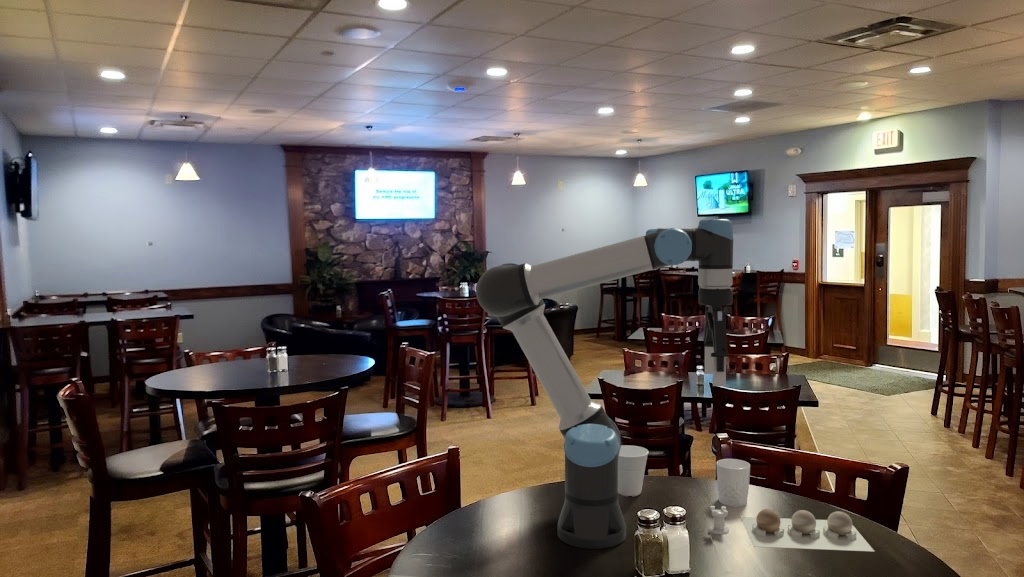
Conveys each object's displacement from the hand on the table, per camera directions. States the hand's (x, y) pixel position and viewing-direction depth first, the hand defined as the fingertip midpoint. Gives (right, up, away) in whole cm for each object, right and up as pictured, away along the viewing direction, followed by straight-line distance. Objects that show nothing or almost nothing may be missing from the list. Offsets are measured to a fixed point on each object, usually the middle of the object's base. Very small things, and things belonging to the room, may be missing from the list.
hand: (714, 379), depth 167 cm
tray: (+17, -33, -8) cm, 38 cm away
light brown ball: (+10, -33, -7) cm, 35 cm away
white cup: (+8, -32, +12) cm, 35 cm away
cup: (-16, -32, +20) cm, 41 cm away
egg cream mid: (+17, -33, -8) cm, 38 cm away
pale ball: (+25, -33, -9) cm, 42 cm away
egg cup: (-1, -33, -5) cm, 34 cm away
